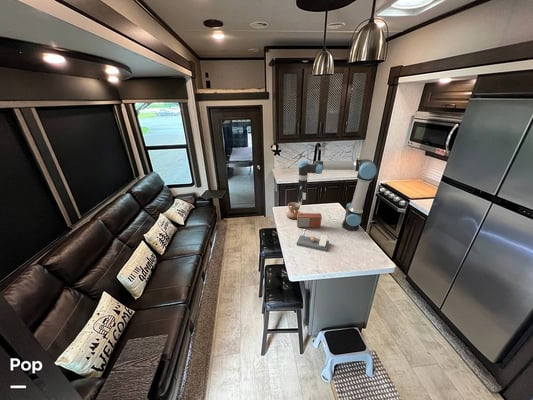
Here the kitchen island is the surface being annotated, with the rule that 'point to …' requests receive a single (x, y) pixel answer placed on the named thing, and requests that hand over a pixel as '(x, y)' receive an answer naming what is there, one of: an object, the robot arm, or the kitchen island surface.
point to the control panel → (309, 219)
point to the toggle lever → (304, 232)
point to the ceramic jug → (293, 210)
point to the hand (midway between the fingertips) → (302, 202)
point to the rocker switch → (323, 240)
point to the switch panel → (311, 243)
